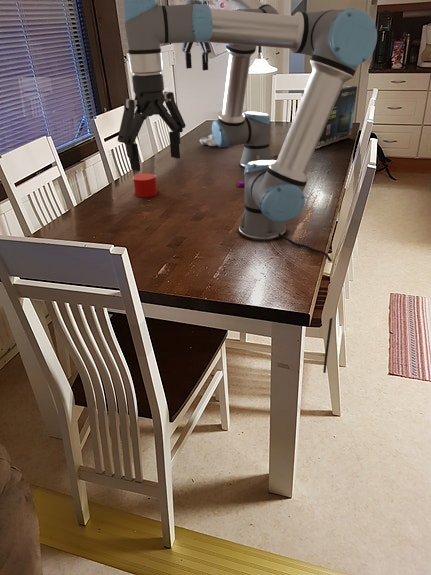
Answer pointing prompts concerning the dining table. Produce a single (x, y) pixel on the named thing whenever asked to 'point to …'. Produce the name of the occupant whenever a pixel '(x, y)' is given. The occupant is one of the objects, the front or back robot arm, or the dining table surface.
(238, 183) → the handgun
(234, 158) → the dining table surface
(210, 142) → the fossil
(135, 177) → the tin
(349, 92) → the router box
